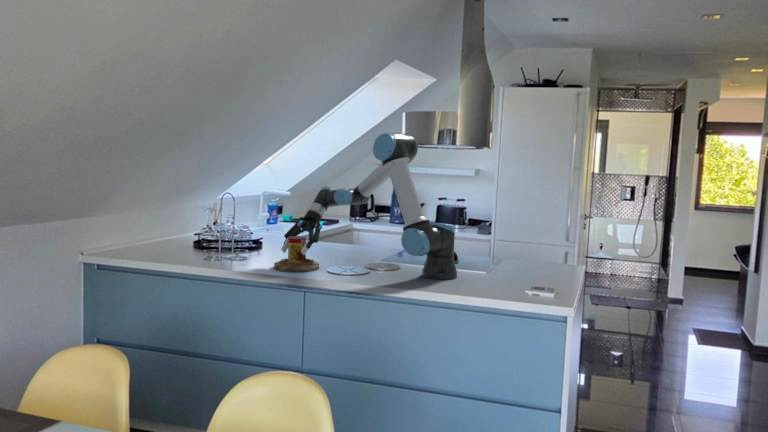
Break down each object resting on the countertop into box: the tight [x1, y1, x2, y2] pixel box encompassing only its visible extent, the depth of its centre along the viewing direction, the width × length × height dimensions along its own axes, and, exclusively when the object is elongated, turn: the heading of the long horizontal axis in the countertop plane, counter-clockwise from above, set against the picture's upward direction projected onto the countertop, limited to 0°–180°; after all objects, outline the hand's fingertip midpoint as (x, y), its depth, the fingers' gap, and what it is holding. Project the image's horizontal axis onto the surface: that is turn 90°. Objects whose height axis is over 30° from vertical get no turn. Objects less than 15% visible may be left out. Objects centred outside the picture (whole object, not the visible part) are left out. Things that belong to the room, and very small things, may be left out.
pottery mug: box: [454, 250, 460, 264], centre depth 308 cm, size 12×10×8 cm
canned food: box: [287, 235, 307, 263], centre depth 282 cm, size 8×8×12 cm
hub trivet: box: [273, 257, 320, 273], centre depth 282 cm, size 20×20×3 cm
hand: (292, 252), depth 279 cm, fingers open, 10 cm apart
